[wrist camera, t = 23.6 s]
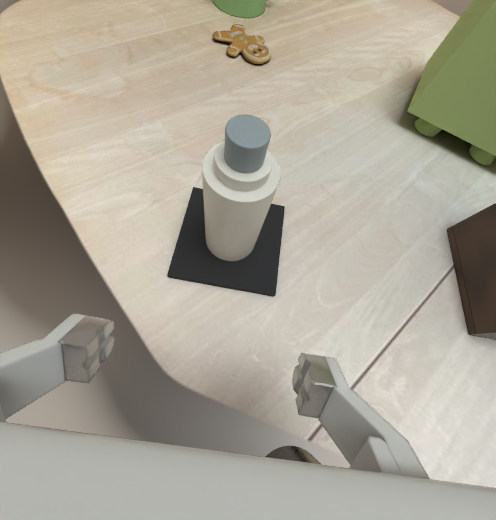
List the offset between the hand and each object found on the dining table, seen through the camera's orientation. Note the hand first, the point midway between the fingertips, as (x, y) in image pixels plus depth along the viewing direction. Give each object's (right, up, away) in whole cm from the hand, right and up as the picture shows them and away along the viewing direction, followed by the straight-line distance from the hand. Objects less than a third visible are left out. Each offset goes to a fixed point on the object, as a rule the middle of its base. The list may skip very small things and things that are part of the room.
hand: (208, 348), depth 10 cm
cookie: (+1, +40, +30) cm, 50 cm away
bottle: (0, +6, +15) cm, 17 cm away
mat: (0, +6, +16) cm, 17 cm away
